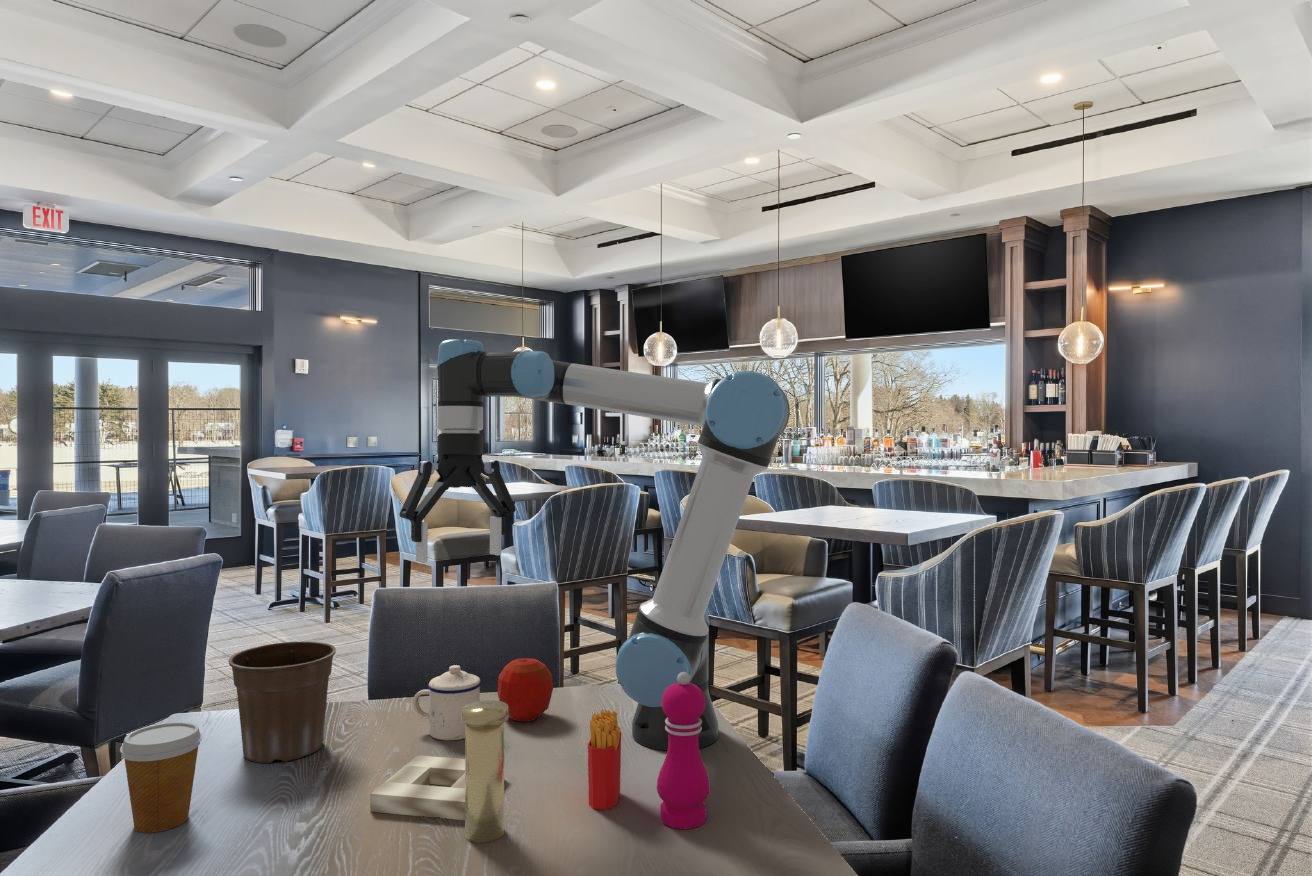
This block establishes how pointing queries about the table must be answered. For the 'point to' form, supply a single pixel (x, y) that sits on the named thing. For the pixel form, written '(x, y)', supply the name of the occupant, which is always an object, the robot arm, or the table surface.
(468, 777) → the gold stepped cylinder
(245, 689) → the plant pot
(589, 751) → the french fries
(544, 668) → the apple
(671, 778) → the pepper mill
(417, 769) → the socket block
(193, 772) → the disposable coffee cup
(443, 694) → the teacup with lid
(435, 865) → the table surface
